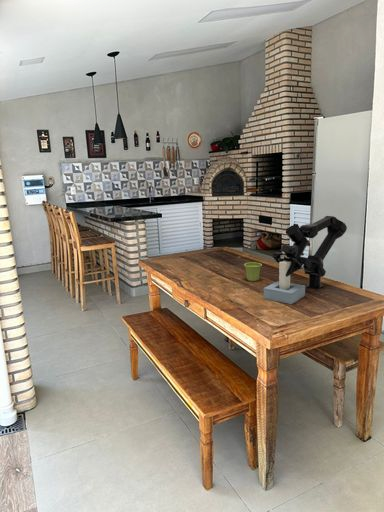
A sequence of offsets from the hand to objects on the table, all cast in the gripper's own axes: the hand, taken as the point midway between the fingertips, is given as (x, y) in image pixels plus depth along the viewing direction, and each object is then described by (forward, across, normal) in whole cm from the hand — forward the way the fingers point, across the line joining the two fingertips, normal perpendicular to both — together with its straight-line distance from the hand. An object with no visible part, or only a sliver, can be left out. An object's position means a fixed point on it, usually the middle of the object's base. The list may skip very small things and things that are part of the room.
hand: (282, 275), depth 178 cm
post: (+4, 0, +6) cm, 7 cm away
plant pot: (-1, -30, +16) cm, 34 cm away
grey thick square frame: (+7, 0, +8) cm, 11 cm away
